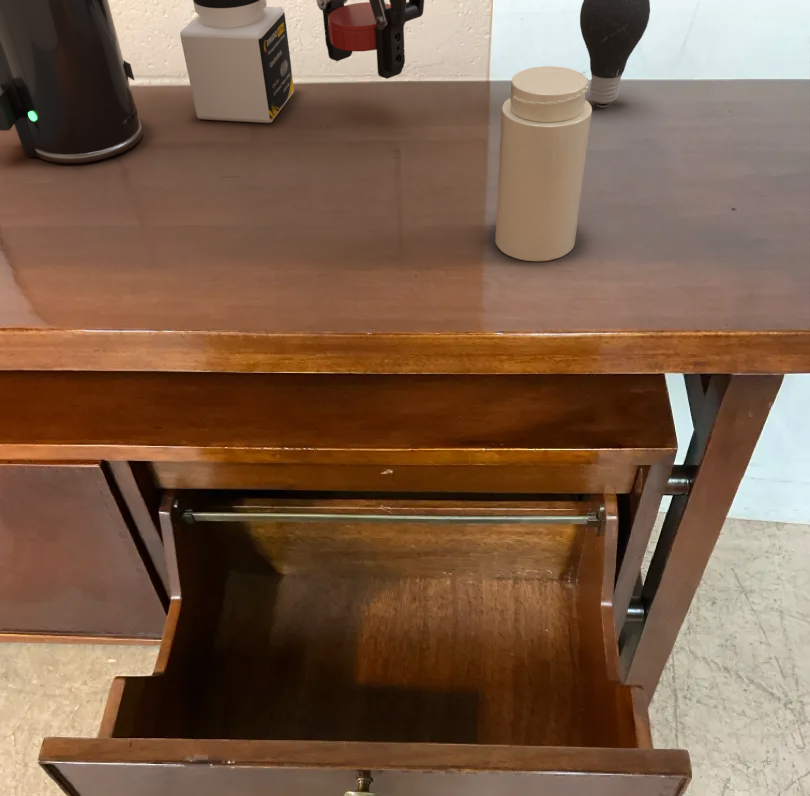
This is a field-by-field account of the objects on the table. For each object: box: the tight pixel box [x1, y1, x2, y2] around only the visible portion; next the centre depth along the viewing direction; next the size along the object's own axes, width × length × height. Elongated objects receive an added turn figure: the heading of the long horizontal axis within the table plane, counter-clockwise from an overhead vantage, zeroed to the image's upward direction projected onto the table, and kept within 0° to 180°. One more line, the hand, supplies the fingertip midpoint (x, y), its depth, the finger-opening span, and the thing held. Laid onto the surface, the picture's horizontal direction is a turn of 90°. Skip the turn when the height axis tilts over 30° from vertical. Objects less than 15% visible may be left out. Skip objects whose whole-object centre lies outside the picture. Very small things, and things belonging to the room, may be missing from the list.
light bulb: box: [579, 0, 651, 108], centre depth 71 cm, size 6×6×10 cm
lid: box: [328, 1, 391, 52], centre depth 69 cm, size 6×6×2 cm
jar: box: [494, 65, 593, 262], centre depth 55 cm, size 6×6×11 cm
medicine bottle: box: [179, 0, 295, 124], centre depth 72 cm, size 7×7×12 cm
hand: (365, 65), depth 71 cm, fingers closed on lid, 5 cm apart
